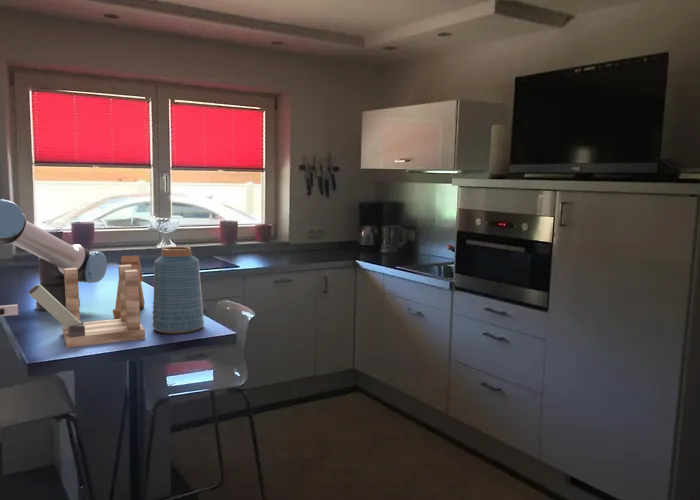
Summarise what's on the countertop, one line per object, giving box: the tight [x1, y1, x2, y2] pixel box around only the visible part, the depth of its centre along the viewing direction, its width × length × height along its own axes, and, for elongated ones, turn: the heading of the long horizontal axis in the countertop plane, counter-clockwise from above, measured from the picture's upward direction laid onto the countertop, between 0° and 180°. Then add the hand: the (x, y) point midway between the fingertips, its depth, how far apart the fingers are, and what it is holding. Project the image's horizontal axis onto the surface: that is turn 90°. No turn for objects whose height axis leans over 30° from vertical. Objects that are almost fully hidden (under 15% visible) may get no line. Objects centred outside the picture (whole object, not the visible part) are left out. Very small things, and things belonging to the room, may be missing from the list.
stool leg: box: [28, 283, 82, 331], centre depth 177 cm, size 4×4×17 cm
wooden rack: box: [61, 264, 146, 349], centre depth 189 cm, size 18×22×21 cm
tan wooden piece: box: [112, 255, 145, 319], centre depth 218 cm, size 7×23×25 cm
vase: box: [152, 246, 205, 335], centre depth 198 cm, size 16×16×27 cm
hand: (17, 309), depth 172 cm, fingers closed
